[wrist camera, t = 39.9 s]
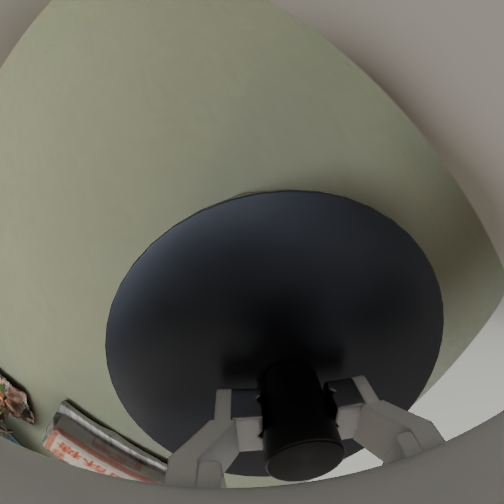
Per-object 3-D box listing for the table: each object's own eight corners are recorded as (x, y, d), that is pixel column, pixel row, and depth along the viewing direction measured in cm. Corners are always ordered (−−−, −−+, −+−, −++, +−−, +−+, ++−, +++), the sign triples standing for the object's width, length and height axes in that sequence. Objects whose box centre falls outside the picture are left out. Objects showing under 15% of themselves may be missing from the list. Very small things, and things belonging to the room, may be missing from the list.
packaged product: (35, 450, 21) (47, 422, 20) (48, 427, 26) (65, 396, 24) (153, 516, 24) (190, 501, 23) (158, 491, 29) (193, 471, 28)
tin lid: (447, 193, 10) (539, 209, 5) (393, 438, 14) (424, 496, 9) (88, 202, 10) (-6, 224, 5) (155, 459, 13) (140, 527, 8)
